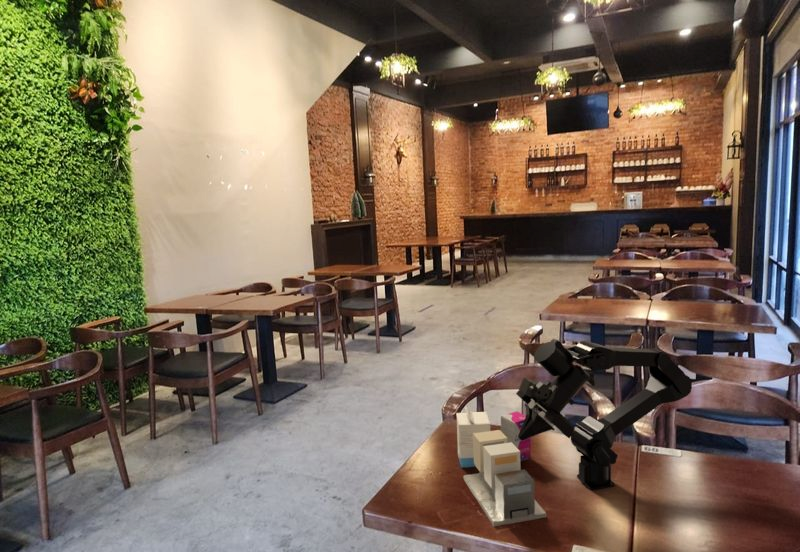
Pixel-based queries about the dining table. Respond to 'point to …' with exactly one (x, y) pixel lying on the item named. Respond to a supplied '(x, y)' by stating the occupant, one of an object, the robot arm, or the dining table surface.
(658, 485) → the dining table surface
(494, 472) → the block
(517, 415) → the supplement box
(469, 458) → the ink box
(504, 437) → the block
